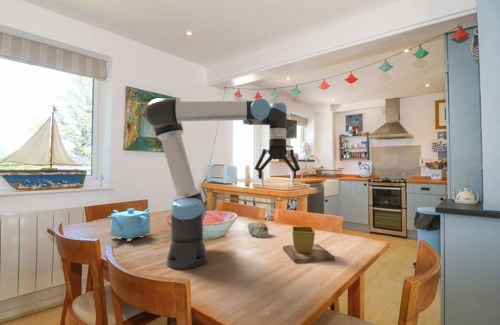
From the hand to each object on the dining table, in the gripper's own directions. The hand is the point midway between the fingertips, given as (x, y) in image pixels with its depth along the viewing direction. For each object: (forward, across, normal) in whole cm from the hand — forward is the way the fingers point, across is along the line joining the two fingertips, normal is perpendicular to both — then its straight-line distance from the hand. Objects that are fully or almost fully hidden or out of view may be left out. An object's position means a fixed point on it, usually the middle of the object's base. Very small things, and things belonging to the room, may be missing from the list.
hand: (277, 186), depth 118 cm
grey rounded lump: (+28, -5, +21) cm, 35 cm away
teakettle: (+29, -70, +26) cm, 80 cm away
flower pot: (+26, +9, -11) cm, 29 cm away
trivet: (+27, +11, -11) cm, 31 cm away
